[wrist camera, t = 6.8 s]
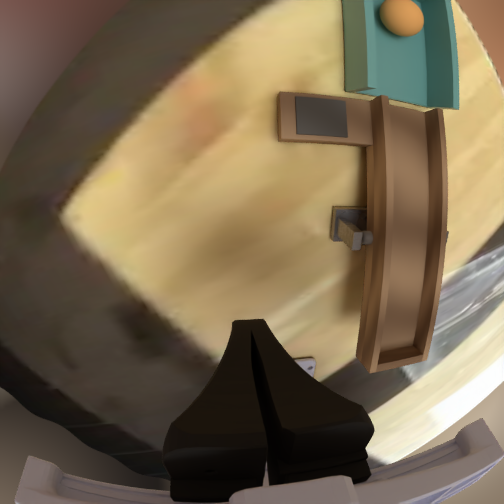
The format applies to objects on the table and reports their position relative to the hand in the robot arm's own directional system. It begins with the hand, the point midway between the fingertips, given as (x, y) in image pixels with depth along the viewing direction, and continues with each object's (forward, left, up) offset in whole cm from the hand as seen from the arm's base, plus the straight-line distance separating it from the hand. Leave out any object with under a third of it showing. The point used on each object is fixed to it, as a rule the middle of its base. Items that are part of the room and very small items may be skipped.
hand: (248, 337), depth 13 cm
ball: (+18, -11, -8) cm, 22 cm away
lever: (+2, -8, -7) cm, 11 cm away
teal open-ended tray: (+17, -11, -9) cm, 22 cm away
